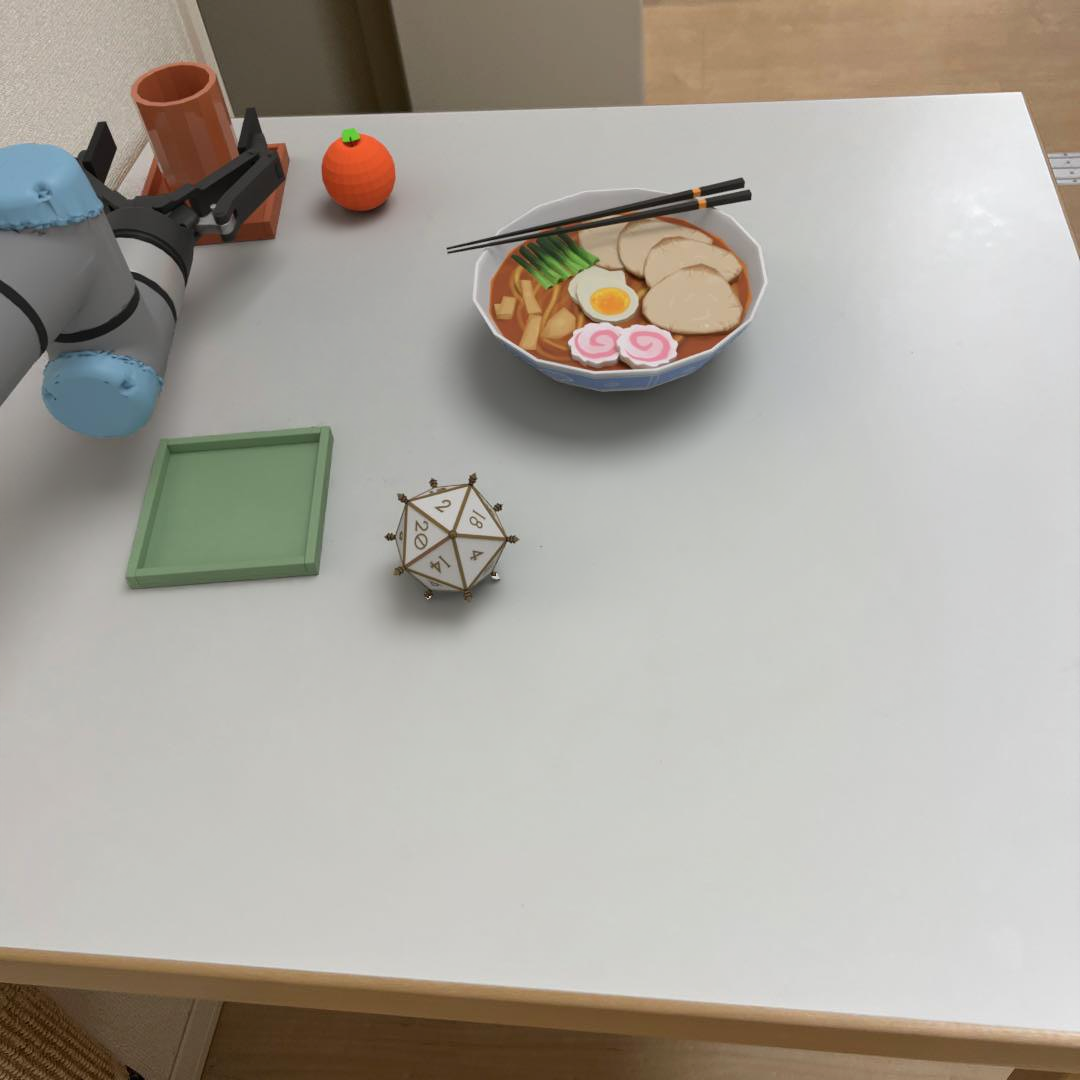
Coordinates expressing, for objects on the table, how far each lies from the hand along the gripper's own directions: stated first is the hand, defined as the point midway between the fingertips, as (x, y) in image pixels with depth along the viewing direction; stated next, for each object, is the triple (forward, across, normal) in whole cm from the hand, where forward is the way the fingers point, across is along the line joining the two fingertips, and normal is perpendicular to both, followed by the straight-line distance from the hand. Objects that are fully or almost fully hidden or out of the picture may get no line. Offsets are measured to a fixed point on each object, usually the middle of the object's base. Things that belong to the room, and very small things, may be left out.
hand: (181, 128), depth 97 cm
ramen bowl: (-24, +38, -9) cm, 46 cm away
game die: (-47, +24, -9) cm, 53 cm away
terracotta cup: (+2, 0, -8) cm, 9 cm away
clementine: (-1, +15, -9) cm, 18 cm away
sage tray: (-39, +8, -9) cm, 41 cm away
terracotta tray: (+2, 0, -9) cm, 9 cm away
